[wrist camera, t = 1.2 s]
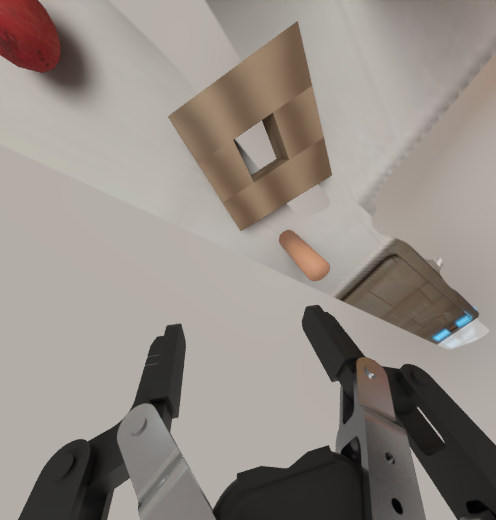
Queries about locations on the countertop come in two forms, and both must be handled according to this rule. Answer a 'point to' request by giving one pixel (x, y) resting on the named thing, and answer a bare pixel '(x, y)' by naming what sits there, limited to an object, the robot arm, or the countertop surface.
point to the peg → (304, 256)
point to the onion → (28, 35)
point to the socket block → (275, 122)
